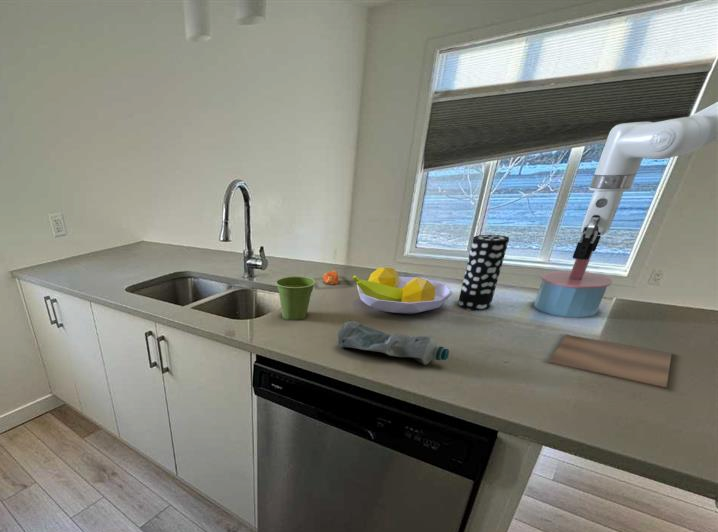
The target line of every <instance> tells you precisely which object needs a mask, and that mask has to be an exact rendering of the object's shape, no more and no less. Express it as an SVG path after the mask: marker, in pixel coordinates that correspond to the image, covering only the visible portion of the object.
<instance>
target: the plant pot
mask: <svg viewBox="0 0 718 532" xmlns="http://www.w3.org/2000/svg"><path fill="white" fill-rule="evenodd" d="M316 284H317V281H316V279H314V278H312V277H308V276H302V275H301V276H299V275H295V276H291V275H290V276H284V277H282V278H278V279H277V280H275V285H276V286H277V292H278V295H279V302H280V309H281V317H282V318H283V320H284V319H285V320H286V321H289V320H291V321H298V320H302V319H305V318H306V317H307V313H308V309H309V304H310V300H311V296H312V292H313V289H314V286H315V285H316Z"/></svg>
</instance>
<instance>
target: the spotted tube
mask: <svg viewBox="0 0 718 532" xmlns="http://www.w3.org/2000/svg"><path fill="white" fill-rule="evenodd" d="M509 241H510V237H509V236H506V235H499V234H478V235H475V236H473V238H472V241H471V247H470V251H469V254H468V259H467V262H466V268H465V272H464V275H463V280H462V284H461V288H460V293H459V296H458V302H457V307H459V308H461V309H464V310H468V311H475V312H476V311H478V312H479V311H480V312H481V311H487V310H489V309H490V308H491V306H492V303H493V298H494V295H495V291H496V288H497V285H498V281H499V277H500V275H501V274H500V273H501V270H502V267H503V262H504V259H505V256H506V252H507V249H508V245H509Z"/></svg>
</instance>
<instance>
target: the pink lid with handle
mask: <svg viewBox="0 0 718 532" xmlns="http://www.w3.org/2000/svg"><path fill="white" fill-rule="evenodd" d="M593 252H594V251H593ZM593 252H591V254H590V257H589V259H587V260H583V259H574V263H573V265H572V268H571V270H553V271H548V272H544V273H542V274H541V276H540V280H541V281H542V280H543V281H545V282H547V283H550V284H553V285H558V286H563V287H570V288H583V289H594V288H604V287H607V288H608V287H611V286H612V284H613V280H612V278H610V277H607V276H605V275H602V274H597V273H593V272H586V271H587V269H588V266H589V263H590V260H591V258H592V256H593Z"/></svg>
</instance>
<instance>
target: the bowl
mask: <svg viewBox="0 0 718 532" xmlns="http://www.w3.org/2000/svg"><path fill="white" fill-rule="evenodd" d="M607 289H608V287H604V288H594V289H583V288H570V287H563V286H558V285H553V284H550V283H547V282H545V281H543V280H542V279H541V282H540V285H539V288H538V291H537V293H536V298H535V300H534V304H533V307H534V309H536V310H538V311H540V312H541V313H546V314H548V315H552V316H558V317H563V318H589V317H593V316H595V315H596V314H597V312H598V310H599V308H600V305H601V303H602V300H603V298H604V296H605V294H606V291H607Z"/></svg>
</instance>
